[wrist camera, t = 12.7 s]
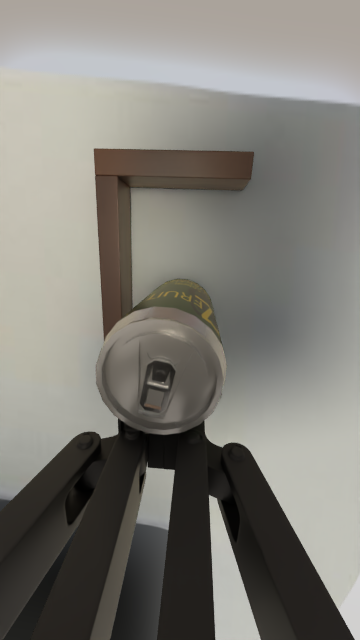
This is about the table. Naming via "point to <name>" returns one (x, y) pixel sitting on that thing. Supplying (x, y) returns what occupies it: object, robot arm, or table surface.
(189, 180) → the corner
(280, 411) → the table surface
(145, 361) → the green soda can
